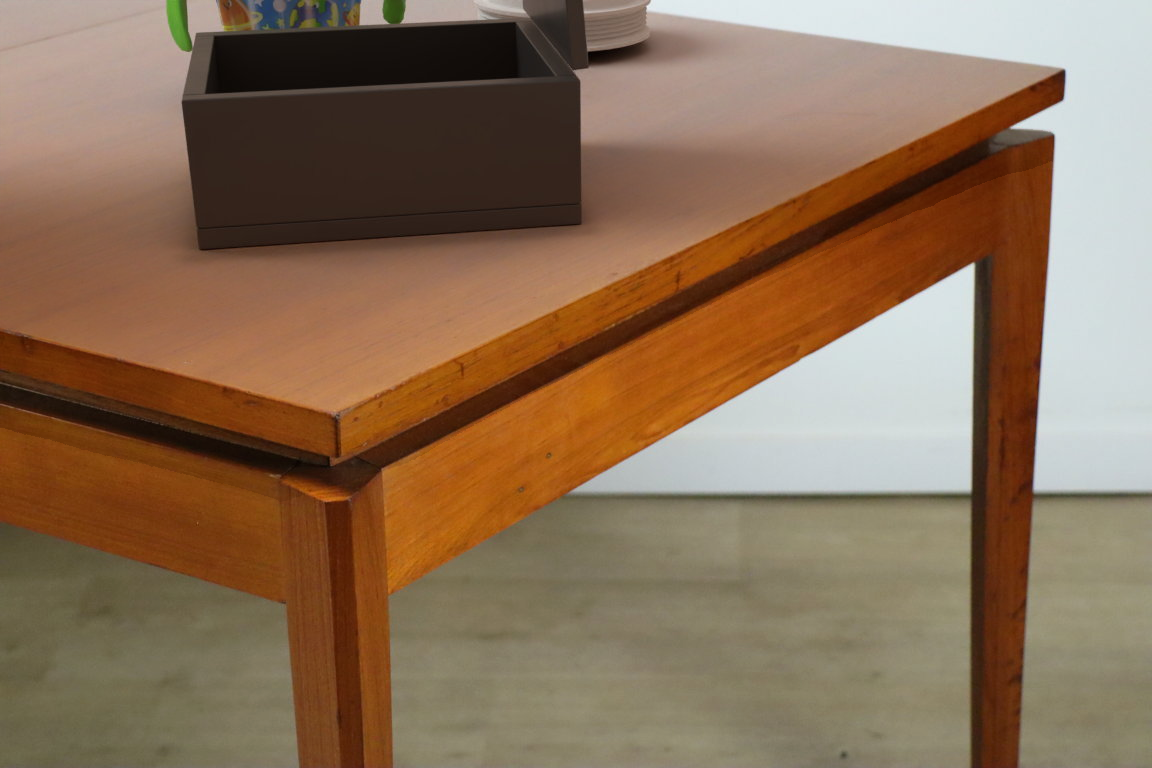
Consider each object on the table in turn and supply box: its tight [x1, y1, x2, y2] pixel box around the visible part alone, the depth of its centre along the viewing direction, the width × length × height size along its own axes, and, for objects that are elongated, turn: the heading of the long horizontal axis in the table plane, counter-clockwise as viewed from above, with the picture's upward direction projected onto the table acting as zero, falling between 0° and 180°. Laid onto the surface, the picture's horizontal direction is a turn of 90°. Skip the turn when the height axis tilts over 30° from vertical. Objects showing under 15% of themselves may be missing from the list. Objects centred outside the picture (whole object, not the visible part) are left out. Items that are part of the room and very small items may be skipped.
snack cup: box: [166, 0, 407, 53], centre depth 96 cm, size 16×10×10 cm
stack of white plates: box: [472, 0, 652, 52], centre depth 108 cm, size 13×13×5 cm
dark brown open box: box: [181, 18, 583, 250], centre depth 77 cm, size 18×15×7 cm
